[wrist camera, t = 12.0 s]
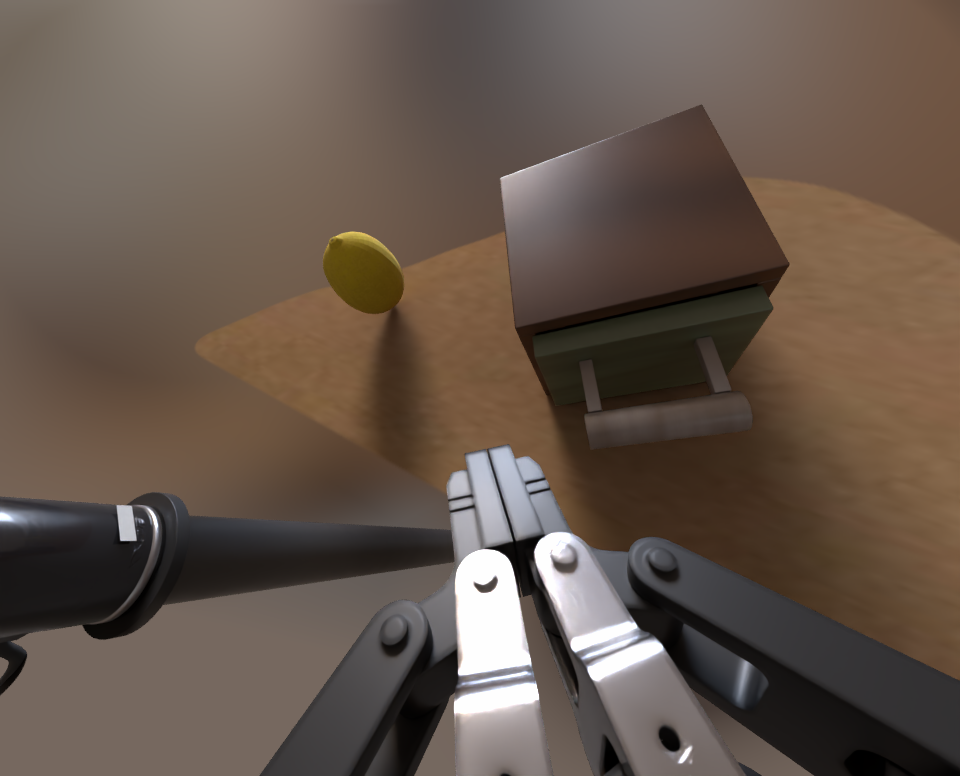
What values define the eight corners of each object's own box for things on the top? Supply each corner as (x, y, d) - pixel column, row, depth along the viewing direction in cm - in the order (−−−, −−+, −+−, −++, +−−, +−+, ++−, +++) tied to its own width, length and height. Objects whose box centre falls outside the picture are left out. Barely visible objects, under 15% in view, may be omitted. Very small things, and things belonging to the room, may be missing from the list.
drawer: (753, 453, 17) (825, 410, 12) (565, 473, 20) (545, 446, 14) (677, 251, 23) (699, 154, 17) (538, 288, 26) (516, 214, 20)
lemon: (384, 277, 34) (324, 209, 27) (429, 283, 31) (377, 210, 24) (358, 325, 32) (288, 267, 25) (403, 335, 30) (340, 274, 23)
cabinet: (725, 365, 20) (790, 264, 13) (546, 395, 23) (514, 328, 16) (675, 234, 25) (702, 103, 17) (530, 274, 28) (499, 177, 20)
